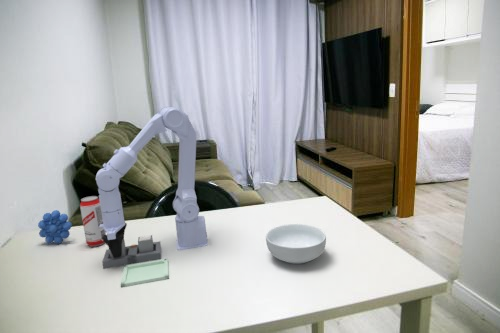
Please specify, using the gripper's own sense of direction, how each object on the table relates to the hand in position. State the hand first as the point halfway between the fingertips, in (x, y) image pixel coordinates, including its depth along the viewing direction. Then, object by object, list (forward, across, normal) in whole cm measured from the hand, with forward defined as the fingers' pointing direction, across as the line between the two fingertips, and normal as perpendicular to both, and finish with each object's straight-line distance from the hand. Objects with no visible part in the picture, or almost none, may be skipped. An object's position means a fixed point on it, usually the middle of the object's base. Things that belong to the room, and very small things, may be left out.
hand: (118, 252), depth 102 cm
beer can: (+3, -16, -9) cm, 19 cm away
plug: (+3, 0, 0) cm, 3 cm away
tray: (+3, +11, +8) cm, 14 cm away
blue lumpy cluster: (+3, -22, -22) cm, 31 cm away
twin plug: (+3, 0, +8) cm, 9 cm away
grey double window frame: (+3, 0, +4) cm, 5 cm away
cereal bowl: (+3, +16, +50) cm, 53 cm away
